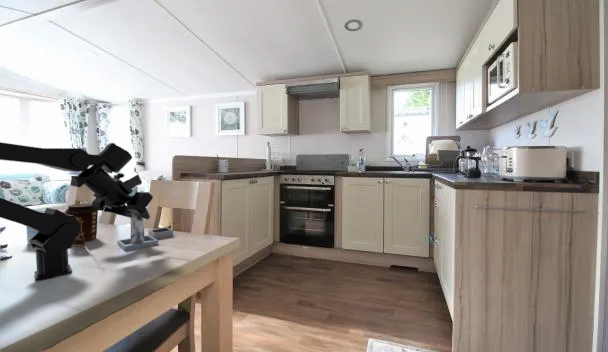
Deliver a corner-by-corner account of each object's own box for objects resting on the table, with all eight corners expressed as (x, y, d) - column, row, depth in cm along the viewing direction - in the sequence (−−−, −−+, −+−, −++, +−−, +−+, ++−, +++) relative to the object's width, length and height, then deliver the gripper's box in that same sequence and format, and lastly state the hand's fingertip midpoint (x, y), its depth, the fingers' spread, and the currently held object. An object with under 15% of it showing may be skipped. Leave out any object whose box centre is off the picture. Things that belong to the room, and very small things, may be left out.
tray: (158, 248, 87) (158, 240, 87) (124, 255, 81) (124, 246, 81) (149, 242, 93) (149, 235, 93) (117, 248, 87) (117, 240, 87)
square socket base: (180, 238, 98) (180, 229, 97) (155, 243, 92) (155, 234, 92) (170, 234, 104) (170, 225, 104) (147, 238, 98) (146, 229, 98)
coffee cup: (72, 241, 95) (70, 203, 95) (102, 238, 99) (100, 202, 98) (63, 248, 87) (61, 207, 87) (96, 245, 91) (94, 205, 90)
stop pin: (148, 246, 87) (147, 199, 86) (131, 249, 84) (130, 201, 83) (143, 243, 90) (143, 198, 90) (127, 246, 87) (126, 199, 87)
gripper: (146, 164, 79) (177, 198, 90) (100, 164, 85) (135, 196, 96) (120, 195, 72) (157, 228, 83) (72, 192, 78) (113, 223, 89)
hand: (140, 217), depth 88 cm, fingers open, 6 cm apart
